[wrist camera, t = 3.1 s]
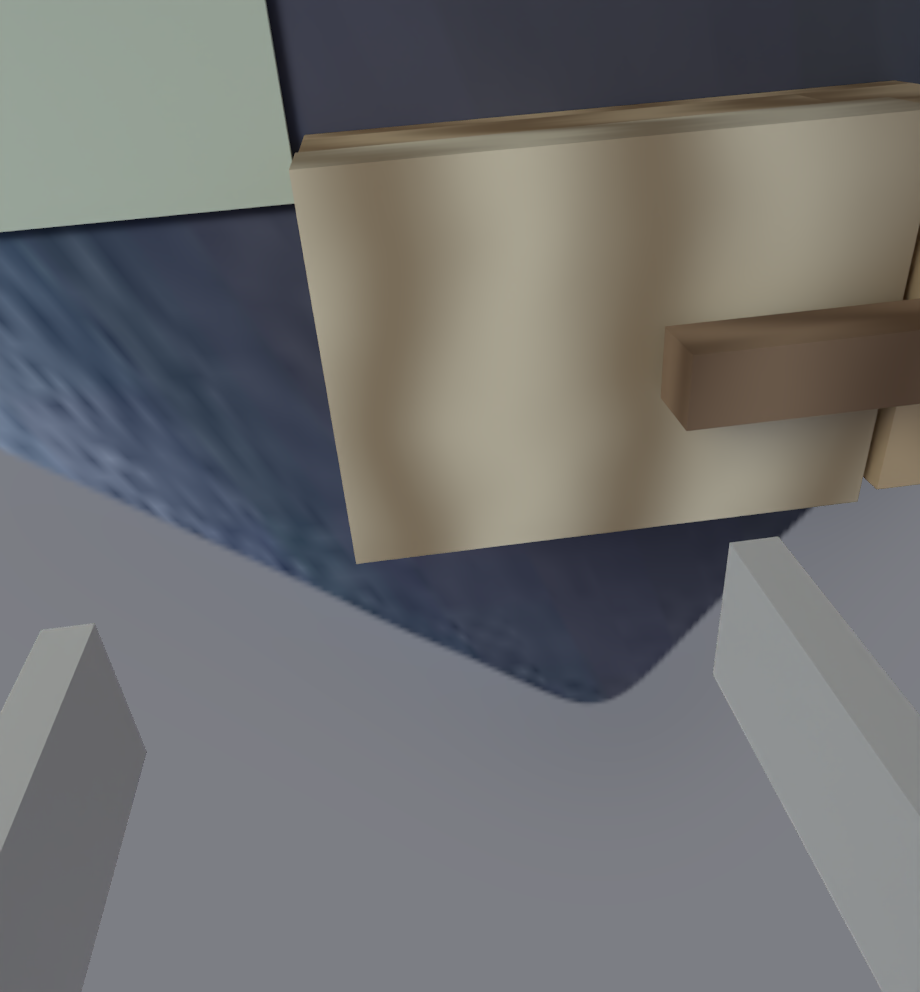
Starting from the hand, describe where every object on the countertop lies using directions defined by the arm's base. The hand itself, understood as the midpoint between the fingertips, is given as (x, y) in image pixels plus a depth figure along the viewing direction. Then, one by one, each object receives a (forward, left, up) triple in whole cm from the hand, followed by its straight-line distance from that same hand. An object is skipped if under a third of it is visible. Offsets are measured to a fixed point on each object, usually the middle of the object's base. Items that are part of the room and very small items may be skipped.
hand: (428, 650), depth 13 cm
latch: (+12, 0, -10) cm, 15 cm away
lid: (+6, 0, -13) cm, 14 cm away
